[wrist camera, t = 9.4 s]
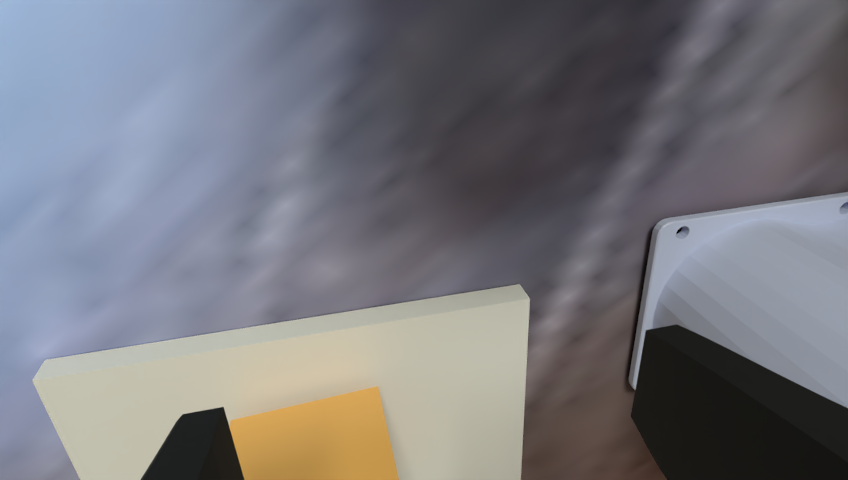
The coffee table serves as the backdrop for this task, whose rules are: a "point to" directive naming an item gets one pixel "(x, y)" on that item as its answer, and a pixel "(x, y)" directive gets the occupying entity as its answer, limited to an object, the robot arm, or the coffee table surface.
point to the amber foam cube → (318, 440)
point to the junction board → (315, 384)
